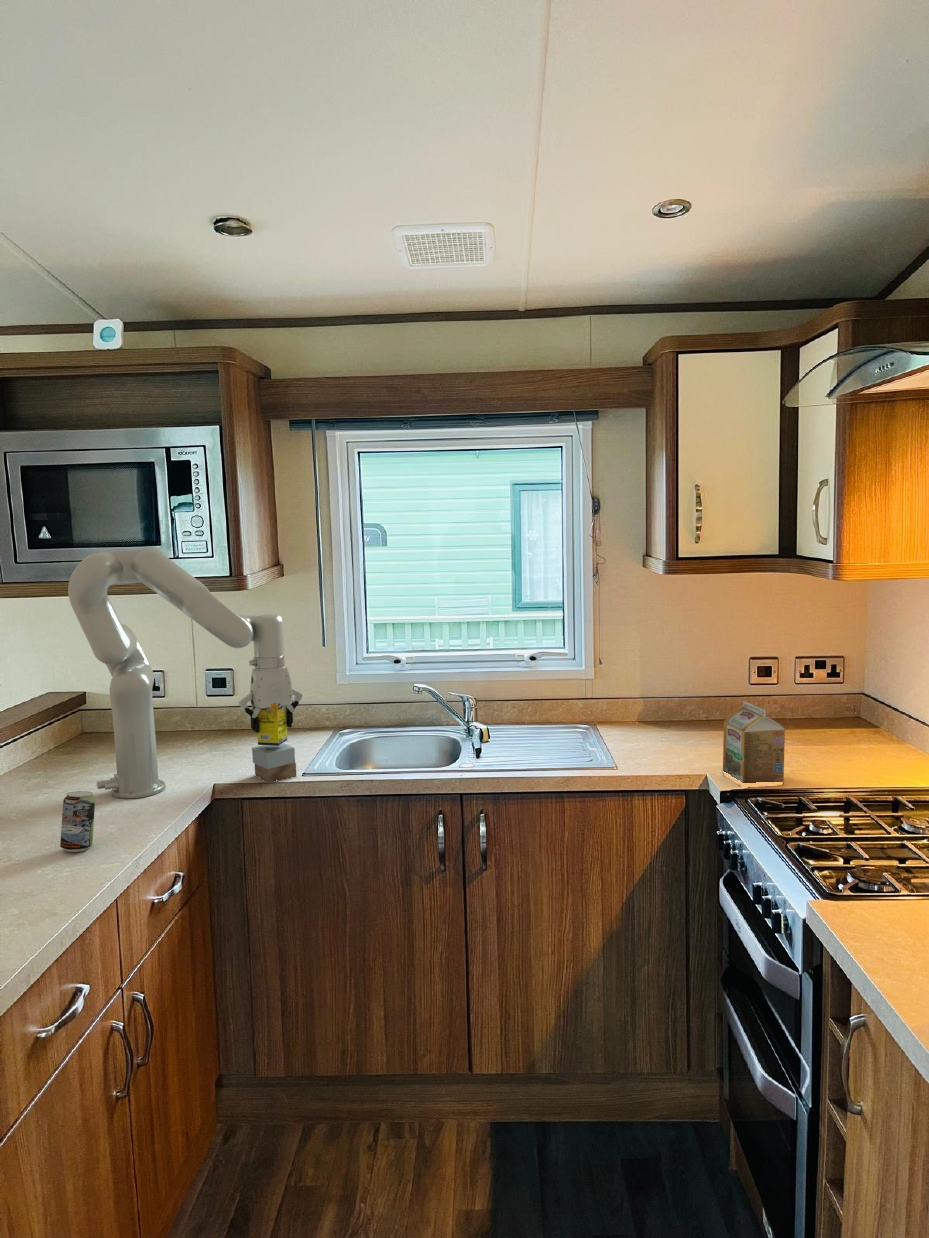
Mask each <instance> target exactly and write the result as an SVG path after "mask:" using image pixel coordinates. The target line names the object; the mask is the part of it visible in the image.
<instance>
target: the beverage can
mask: <svg viewBox="0 0 929 1238" xmlns="http://www.w3.org/2000/svg"><path fill="white" fill-rule="evenodd" d="M93 794H94V793H93V792H92V791H87V790H74V791H69V792H67V793H66V796H65V797H64V799H63V800H62V815H61V827H60V829H61V831H60V845H59V846H60V848H61V849H63V850H64V851H65V852H73V853H76V852H77V853H79V852H83V851H87V850H88V849H89V848H91V847H92V846H93V839H94V826H95V808H96V807H95V806H96V798H95V797H94V795H93Z"/></svg>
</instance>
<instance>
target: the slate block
mask: <svg viewBox="0 0 929 1238" xmlns="http://www.w3.org/2000/svg"><path fill="white" fill-rule="evenodd" d="M295 750H296V749H295V747H294V746H291V745H289V744H287V743H285V742H283V743H282V744H280V745H279V746H270V745H258V746H254V747H251V752H252V753H251V754H252V763H253V764H254V765H255V764H257V765H259V766H262V767H264V768H266V769H270V768H274V767H278V766H283V765H287V764H291V763H296V753H295Z"/></svg>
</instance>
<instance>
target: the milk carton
mask: <svg viewBox="0 0 929 1238" xmlns="http://www.w3.org/2000/svg"><path fill="white" fill-rule="evenodd" d="M742 703H743V704H742V707H740V708H738V709H737V710H735V711H734V712H733V713H731V714H730V715H729V716H727V718H726V719H725V720H723V742H722V743H723V746H722V748H723V751H722V772H723V771H724V772H726V773H728V774H730V775H731V776H732V777H734V778H736V779H737V780H740V781H741V782H742V783H756V782H783V781H785V780H784V777H785V776H784V775H785V774H784V773H785V772H784V771H785V743H786V742H785V738H786V729H785V728H784V727H783V725H781V724H780V723H778V722H777V721H775V720H773V719H772V718H769V717H768V716H767V715H766V710H765V709H763V708H761V707H758V706H756V705H754V704H751V703H749V702H747V701H743V702H742ZM783 783H784V782H783Z"/></svg>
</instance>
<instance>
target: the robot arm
mask: <svg viewBox="0 0 929 1238" xmlns="http://www.w3.org/2000/svg"><path fill="white" fill-rule="evenodd" d="M141 583H142V584H143V585H145V586H147V587H148V588H149V589H150V590H152V591H153V592H155V593H156V594H157V595H159V596H160V597H162V598H163V599H164V600H166V601H168V603H170V604H171V605H173V606H174V607H175V608H177V609H178V610H179V611H181V613H183V614H184V615H185V616H186V617H188V618H190V619H191V620H192V621H194V622H195V623H197V624H198V625H199V626H200V627H202V628H203V629H204V630H206V631H207V632H208V633H210V634H211V635H213V636H214V637H215V638H217V639H218V640H219V641H221V642H222V643H224V644H225V645H226V646H227V647H230V648H233V649H243V648H245V647H247V646H249V645H250V643H251V642H253V654H254V655H253V658H252V660H249V662H248V664H249V666H253V667H254V668H252V671H251V677H250V687H249V688H250V689H249V693H248V694H247V695H246V696H244V697H243V698H242V699H240V701H239V702H238V705H239V707H240V708H241V709H242V710H243V711H244V713H246V715H249V717H250V729H251V730H252V731H253V732H254V733H256V734H257V733H259V732H260V730H259V718H258V717H257V715H258V713H259V711H260V710H261V709H266V708H270V707H271V704H278V703H280V704H281V706H286V712H287V728H289V729H291V728H293V726H292V725H293V723H294V716H293V715H294V712H295V709H296V708H297V707H298V705H299V704H300V701H301V700H302V698H303V694H302V693H300V692H298V691H297V690H295V689H293V685H292V680H291V673H290V670H289V667H288V666H287V665H286V666H285V643H284V642H285V641H284V621H283V618H282V616H280V615H279V614H271V613H270V614H260V615H246V614H237V613H236V612H235V611H233V610H232V609H230V608H229V607H228V606H226V605H225V604H224V603H223V602H221V601H220V600H219V599H218V598H217V597H216V596H214V594H213V593H212V592H211V591H210V590H209V589H208V587H207V586H206V585H205V584H204V583H203V582H201V581H200V580H199V579H197V578H195V577H194V576H193V575H192V574H190V573H189V572H187V571H186V570H185V569H183V568H182V567H181V566H179V565H178V564H176V563H175V562H174V561H172V560H171V559H170V558H169V557H168V556H167V554H166V553H164V552H163V551H162V550H159V549H157V548H144V549H134V550H133V549H131V550H117V551H116V550H114V551H99V552H97V553H92V554H90V555H87V556H86V557H85V558H83V560H81V561H80V562H79V563H78V564H77V566H76V567H75V568H74V570H73V572H72V573H71V575H70V578H69V580H68V586H67V588H68V589H67V592H68V598H69V602H70V606H71V608H72V610H73V612H74V615H75V617H76V619H77V621H78V622H79V625H80V628H81V629H82V631H83V634H84V636H85V638H86V640H87V642H88V644H89V646H90V649H91V651H92V653H93V655H94V656H95V658H96V659H97V660H98V662H101V663H102V664H104V665H105V666H106V667H107V669H108V671H109V673H110V675H111V677H112V678H111V681H110V684H109V699H110V700H109V701H110V706H111V714H112V725H113V727H112V728H113V735H114V737H113V739H114V749H115V750H114V751H115V763H116V765H115V766H116V773H113V777H110V778H109V779H107V780H105V779H104V780H99V781H96V789H97V790H102V789H104V790H105V791H106V790H111V796H113V797H115V798H119V799H138V798H139V799H140V798H144V797H149V796H153V795H157V794H158V793H160V792H162V791H164V790H165V788H166V782H165V781H164V780H162V779H160V778H159V770H158V756H157V755H158V753H157V752H158V751H157V737H156V727H155V713H154V703H153V702H154V701H153V686H154V685H155V684H154V683H155V674H154V670H153V669H152V666H151V664H150V662H149V661H148V658H147V655H146V654H145V652H144V651H143V648H142V646H141V644H140V642H139V640H138V638H137V636H136V634H135V632H134V631H133V630H132V629H131V627H129V626H128V625H126V624H124V623H122V622H121V620H120V618H119V616H118V615H117V612H116V610H115V607H114V606H113V605H114V604H113V603H112V601H111V600H110V597H109V596H108V589H109V587H111V586H115V585H131V584H132V585H133V584H141ZM248 703H250V704H251V708H249V706H248V705H247V704H248Z"/></svg>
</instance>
